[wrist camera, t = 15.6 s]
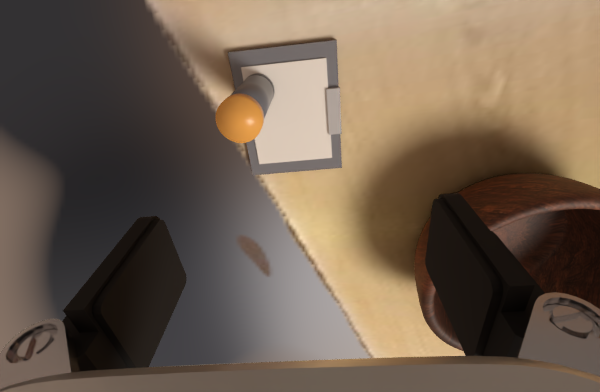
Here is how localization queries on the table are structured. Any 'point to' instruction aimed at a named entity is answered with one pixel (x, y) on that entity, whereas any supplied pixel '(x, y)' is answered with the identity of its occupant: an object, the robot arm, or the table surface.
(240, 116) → the orange topped gray cylinder
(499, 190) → the wooden bowl
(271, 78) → the clipboard
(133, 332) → the robot arm
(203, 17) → the table surface
